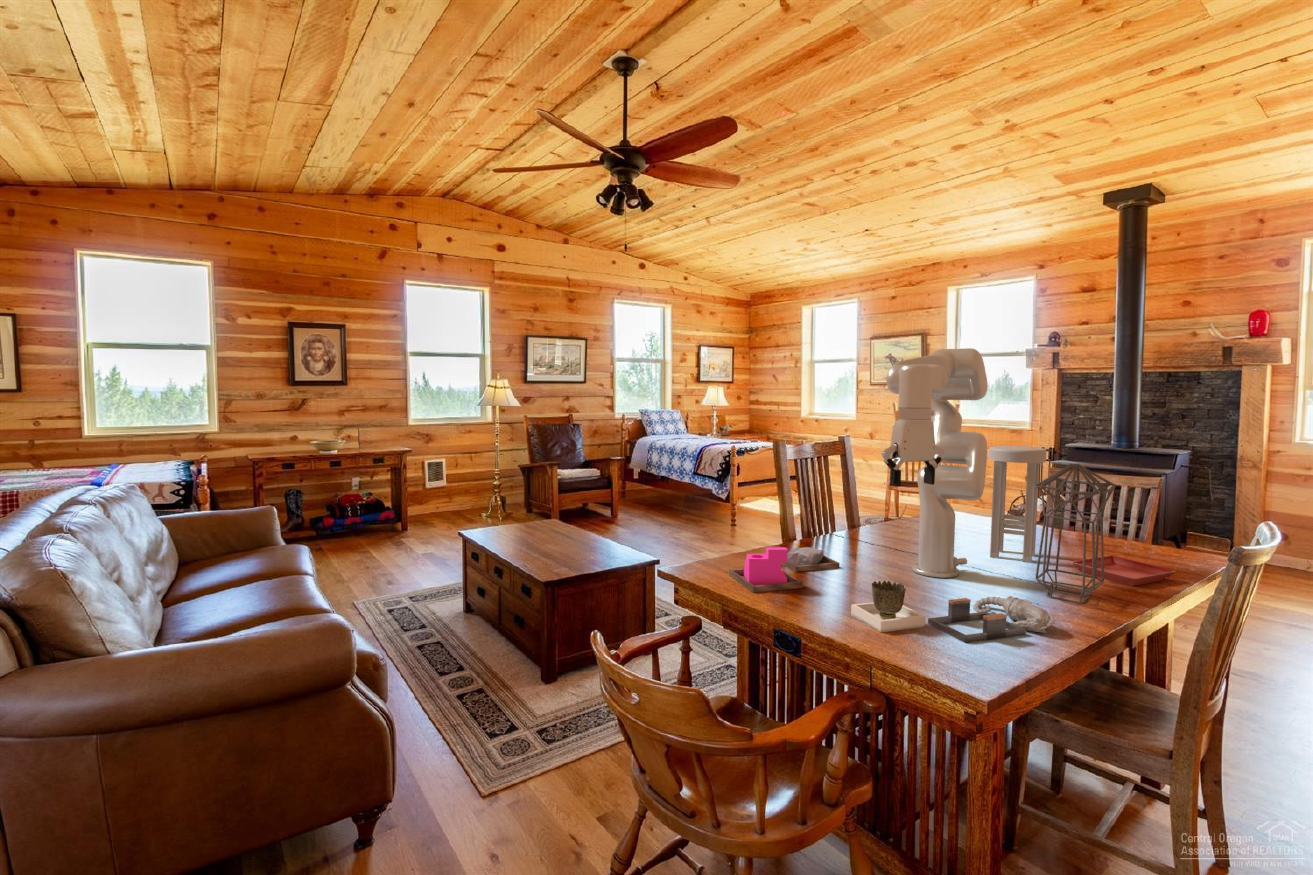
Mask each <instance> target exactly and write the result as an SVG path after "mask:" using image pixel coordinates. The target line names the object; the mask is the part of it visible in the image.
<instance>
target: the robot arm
mask: <svg viewBox="0 0 1313 875" xmlns="http://www.w3.org/2000/svg"><path fill="white" fill-rule="evenodd" d="M987 377H988V376H987V374H986V366H985V363H984V359H983V357H982V354H981V353H980V352H979V351H978V350H977V349H975V348H970V347H969V348H941V349H937V350H934V351H933V352H931V353H930V354H928V355H925V356H919V357H916V358H915V357H914V358H911V359H910V358H909V359H905V360H901V361H898V362H895V363H893V364H892V365H891V367H890V368H889V370H888V372H887V374H886V379H885V380H886V386H887V389H888V390H889V392H890V393H892V394H894V395H898V409H897V420H895V421H894V424H893V426H892V432H891V438H890V446H889V447H887V448H885V449H884V450H882V451H881V457H882V458H883V461H884V464H885V465H886V466H887V469H890V470H889V471H890V472H889V474H890V475H889V482H890V483H889V484H890V485H891V486H893V487H894V486H895V487H901V486H902V470H901V469H900V468H901V467H902V466H903V464H904V463H916V462H917V463H919V462H921V463H922V462H923V463H924V465H925V466H923V467H921V468H920V469H919V470H918V473H917V486H918V487H917V488H918V493H919V494H918V495H919V525H918V526H919V530H918V531H919V532H918V554H917V556H918V559H917V560H918V562H916V563H914V564H913V565H912V568H911V569H912V571H913V572H914V573H917V574H919V575H922V576H927V577H931V578H941V579H942V578H944V579H945V578H946V579H947V578H955V577H958V576H959V575H960V569H958V568H957V567H958V566H960V565H961V566H963V565H967V564H968V559H967V558H966V557H960V558H957V556H955V536H956V534H955V533H956V529H955V528H956V513H955V510H954V508H953V507H952V505H951V504H950V503H949V501H948V500H962V501H978V500H980V499H981V498H982V497H983V493H984V490H985V483H986V471H987V462H988V461H987V460H988V442H987V441H988V440H987V438H986V437H985V435H984V434H982V433H981V432H975V431H962V423H963V418H962V415H961V413H960V412H959V411H958V409H957V408H956V407H955V406H954V405H953V404H952V403H951V402H950V401H979V400H982V399H983V398H984V397H986V394H987V391H988V378H987ZM941 463H943V464H941ZM946 464H947V465H946ZM949 464H952V465H949ZM959 465H963V466H959ZM964 465H966V466H964Z"/></svg>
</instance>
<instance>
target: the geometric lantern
mask: <svg viewBox="0 0 1313 875" xmlns="http://www.w3.org/2000/svg"><path fill="white" fill-rule="evenodd" d="M1066 473H1067V475H1066V477H1065V478H1064V479H1063V478H1061V477H1062V476H1064V475H1065V474H1066ZM1072 473H1073V474H1072ZM1080 473H1081V474H1082V476H1083V478H1084V479H1085V481H1080ZM1071 475H1072V480H1068V479H1069V477H1070V476H1071ZM1099 479H1100V480H1101V481H1102V482H1101V481H1099ZM1054 481H1056V482H1057V483H1059V484H1060V485H1059V486H1058V487H1052V486H1051V483H1053V482H1054ZM1066 483H1067V484H1071V487H1070V486H1069V485H1067V484H1066ZM1080 484H1082V485H1089V487H1088V490H1087V491H1078V490H1079V486H1080ZM1075 485H1076V488H1075ZM1034 486H1035V487H1037V488H1038V492H1040V495H1041V502H1042V503H1041V505H1042V514H1043V515H1042V516H1044V517H1043V524H1042V531H1041V537H1040V543H1039V544H1040V545H1039V551H1038V557H1037V558H1038V559H1037V565H1036V571H1035V578H1034V579H1035V580H1036V581H1037V582H1038V583H1039V585H1041V586H1042V587H1044V588H1045V589H1046V591H1047V594H1046V595H1045V596H1046V597H1047V598H1051V599H1057V600H1061V601H1067V602H1072V603H1077V604H1085V603H1086V602H1087V601H1088V599H1089V596H1090V593H1092V592H1095V591H1096V590H1097V589H1098V588H1099V587H1100V586H1102V585H1103V583H1105V579H1104V556H1105V554H1104V549H1105V548H1104V517H1103V516H1104V511H1105V508H1106V505H1107V503H1108V501H1109V499H1110V497H1111V496H1112V493H1113V492H1114V490H1115V488H1116V484H1115V483H1113V482H1111V481H1110V480H1108V479H1106V478H1104V477H1103V476H1100V475H1099V474H1097V473H1095V472H1093V471H1091V470H1090V469H1088V468H1086V467H1084V466H1083V465H1081V464H1079V463H1070V464H1068V465H1067V466H1065V467H1063V468H1062V469H1060V470H1058V471H1056V472H1055V473H1053V474H1051V475H1050V476H1048V477H1046V478H1045V479H1043V480H1040V481H1038V483H1037V484H1035V485H1034ZM1063 486H1064V487H1065V488H1067V489H1068V490H1070V491H1065V490H1062V488H1063ZM1108 487H1110V488H1108ZM1074 488H1075V489H1074ZM1091 488H1092V489H1093V490H1094V491H1091ZM1051 490H1053V491H1056V494H1055V495H1054V494H1053V493H1052V492H1050V491H1051ZM1100 491H1101V492H1100ZM1059 493H1061V494H1066V495H1067V494H1068V496H1069V497H1068V498H1067V500H1061V499H1060V498H1059ZM1100 494H1101V495H1102V503H1101V506H1100V507H1099V508H1098V506H1097V504H1096V502H1095V500H1094V499H1093V497H1094V496H1096V495H1100ZM1075 495H1080V496H1081V497H1079V498H1076V499H1073V500H1072V498H1073V497H1074V496H1075ZM1044 496H1050V498H1051V500H1052V502H1053V504H1054V506H1055V507H1054V508H1051V509H1049V510H1048V511H1046V507H1045V497H1044ZM1088 498H1090V499H1091V502H1092V503H1093V505H1094V507H1095V509H1096V510H1097V512H1089V511H1080V510H1079V509H1078V508H1079V507H1077V505H1076V504H1075V503H1077V502H1079V501H1083V500H1084V499H1088ZM1055 500H1056V501H1057V503H1058V504H1057V503H1056V501H1055ZM1061 504H1063V505H1062V506H1061V507H1060V508H1059V506H1060V505H1061ZM1068 504H1072V506H1073V507H1074V510H1073V509H1066V508H1065V507H1066V506H1067V505H1068ZM1064 511H1065V512H1073V513H1077V514H1078V516H1080V520H1079V519H1075V518H1066V517H1064ZM1057 512H1060V516H1056V515H1057ZM1048 513H1050V514H1048ZM1083 514H1089V515H1095V517H1094V518H1093V520H1086V519H1085V518H1084V516H1083ZM1050 518H1051V519H1052V520H1051V521H1052V522H1051V528H1050V529H1051V530H1050V538H1049V537H1048V536H1049V524H1050V522H1049V521H1050ZM1056 519H1059V520H1060V522H1059V531H1058V542H1057V552H1056V562H1055V569H1051V568H1049V567H1050V560H1051V553H1052V546H1053V538H1054V530H1055V524H1056V523H1055V522H1056ZM1081 519H1082V520H1081ZM1063 520H1065V521H1066V520H1067V521H1074V522H1079V523H1083V542H1082V543H1083V547H1082V550H1083V551H1082V553H1083V554H1082V560H1083V573H1078V572H1073V571H1068V570H1067V571H1066V570H1060V569H1059V562H1060V554H1061V553H1060V552H1061V551H1060V550H1061V542H1062V531H1063V530H1062V529H1063ZM1095 523H1096V524H1095ZM1087 524H1091V542H1092V543H1091V550H1092V551H1091V552H1092V553H1091V558H1092V575H1090V574H1086V573H1085V561H1086V557H1087V556H1086V553H1087ZM1095 525H1096V526H1095ZM1095 528H1096V530H1095ZM1095 531H1096V532H1095ZM1095 534H1096V535H1095ZM1048 538H1049V544H1048ZM1099 539H1100V557H1101V569H1102V578H1101V577H1097V560H1098V557H1099ZM1043 544H1044V546H1043ZM1043 547H1044V548H1043ZM1047 549H1048V552H1047ZM1043 550H1044V551H1043ZM1042 552H1043V561H1042V562H1043V563H1042V572H1041V573H1040V574H1039V572H1040V566H1041V565H1040V564H1041V557H1042ZM1049 572H1054V579H1053V578H1052V575H1051V574H1050V573H1049ZM1057 572H1058V573H1062V574H1068V575H1074V576H1079V577H1082V582H1081V583H1082V585H1079V584H1072V583H1067V582H1060V581H1058V579H1057ZM1046 574H1047V576H1048V577H1049V579H1050V580H1051V581H1047V580H1045V579H1046ZM1086 578H1089V579H1090V580H1089V582H1088V583H1087V584H1086ZM1096 580H1098V582H1097V583H1096ZM1090 584H1092V586H1090ZM1048 585H1049V586H1048ZM1058 587H1061V588H1066V589H1071V590H1075V591H1070V590H1065V589H1060V588H1058ZM1079 587H1080V588H1079ZM1077 591H1079V592H1077ZM1053 592H1055V593H1060V594H1065V595H1070V596H1076V597H1079V601H1077V600H1073V599H1067V598H1061V597H1057V596H1053ZM1082 597H1083V600H1082Z"/></svg>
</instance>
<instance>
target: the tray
mask: <svg viewBox="0 0 1313 875" xmlns="http://www.w3.org/2000/svg"><path fill="white" fill-rule="evenodd" d="M850 612H851V613H850V615H851V616H852V617H854V618H856V619H857V620H859V621H860V622H862V623H864V624H865V625H867V626H869V627H871V628H872V629H874V630H876V631H877V632H879V633H887V632H895V631H896V632H897V631H902V630H903V631H906V630H911V629H912V630H913V629H919V628H920V629H921V628H925V627H926V616H925V615H924V614H921V613H920V612H917V611H916V610H914V609H911V608H910V607H908V606H906V605H904V604H903V606H902V609H901V610H900V611H899V612H898V613H896V618H894V619H885V620H884V619H882V618H881V617H880V615H879V613H880V611H878V610H877V609H876V607H875V605H874V602H873V601H872V602H871V601H870V602H863V603H853V604H851V605H850Z"/></svg>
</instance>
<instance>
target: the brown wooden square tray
mask: <svg viewBox="0 0 1313 875" xmlns="http://www.w3.org/2000/svg"><path fill="white" fill-rule="evenodd" d="M783 572H784V574H785V575H786V577H787V583H779V584H768V585H758V586H754V585H753V584H751V583H750V582H749V581H747V580H746V578H745V577H743V576H744V568H735V569H729V570H728V575H729V577H731V578H733V579H734V580H735V581H736V582H738V583H740V584H741V585H742V586H744V587H745V588H746V589H748V590H749V591H751V592H752V593H763V592H771V591H782V590H792V589H803V587H804V586H803V585H804V583H803V581H801V580H800V579H798V578H796V577H794V576H793V575H791V574H790V573H789V572H786V571H784V570H783ZM742 575H743V576H742Z"/></svg>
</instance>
